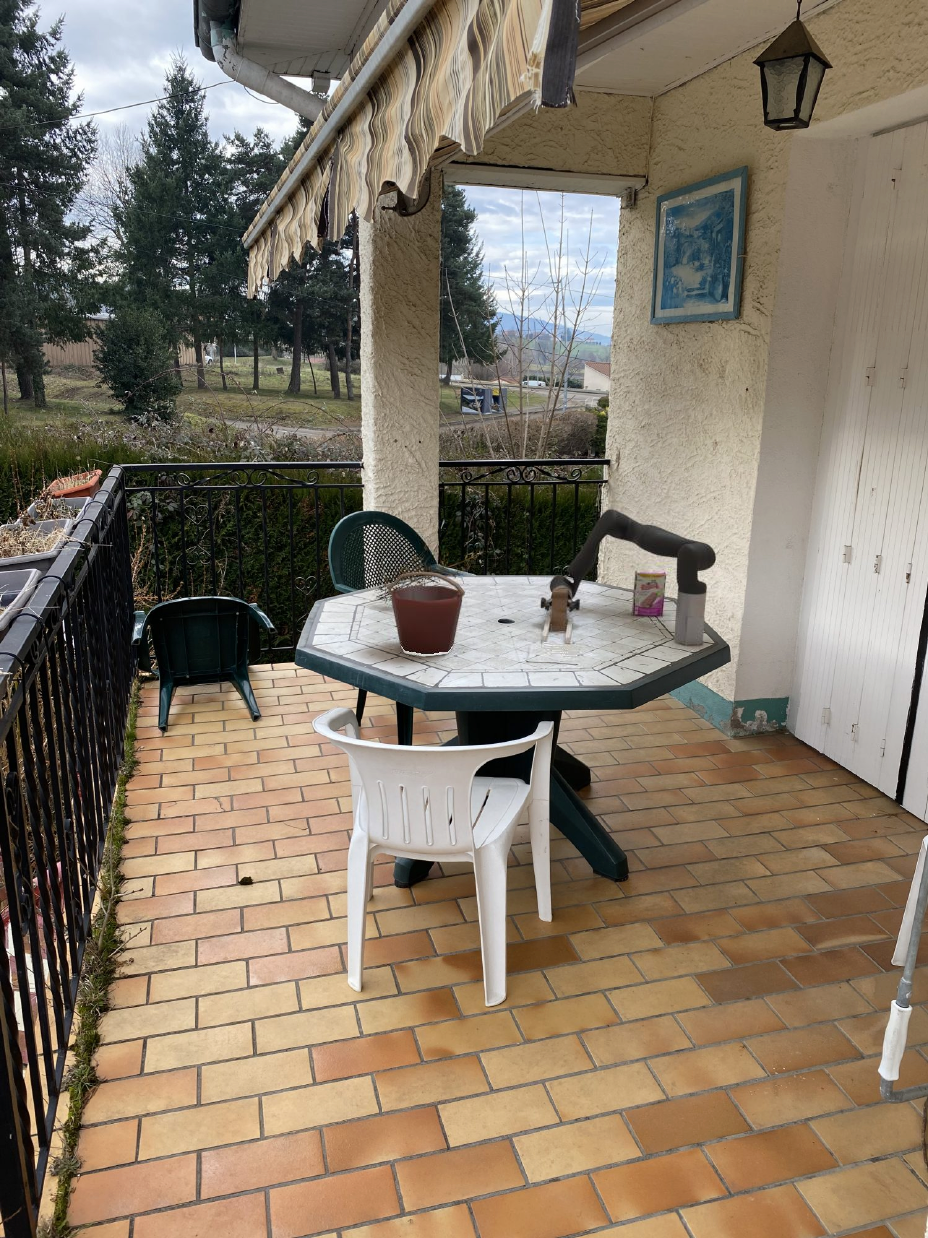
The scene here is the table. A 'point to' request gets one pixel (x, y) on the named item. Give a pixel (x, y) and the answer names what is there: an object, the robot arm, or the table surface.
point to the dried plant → (417, 575)
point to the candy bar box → (648, 593)
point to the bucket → (426, 614)
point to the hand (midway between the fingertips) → (559, 608)
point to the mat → (567, 648)
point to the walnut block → (559, 609)
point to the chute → (547, 626)
